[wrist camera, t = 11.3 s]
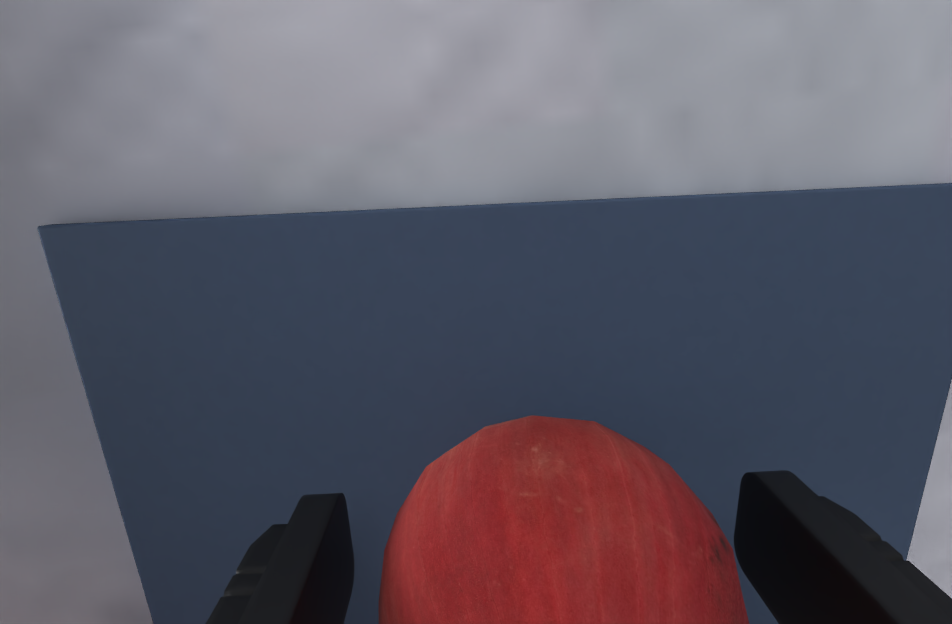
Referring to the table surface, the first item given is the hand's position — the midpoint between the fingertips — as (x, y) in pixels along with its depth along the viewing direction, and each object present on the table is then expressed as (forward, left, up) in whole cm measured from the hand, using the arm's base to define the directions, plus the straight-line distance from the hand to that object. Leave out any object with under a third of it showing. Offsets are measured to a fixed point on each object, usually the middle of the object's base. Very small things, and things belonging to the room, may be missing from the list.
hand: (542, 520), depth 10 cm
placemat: (0, 0, -3) cm, 3 cm away
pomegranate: (0, 0, -2) cm, 2 cm away
